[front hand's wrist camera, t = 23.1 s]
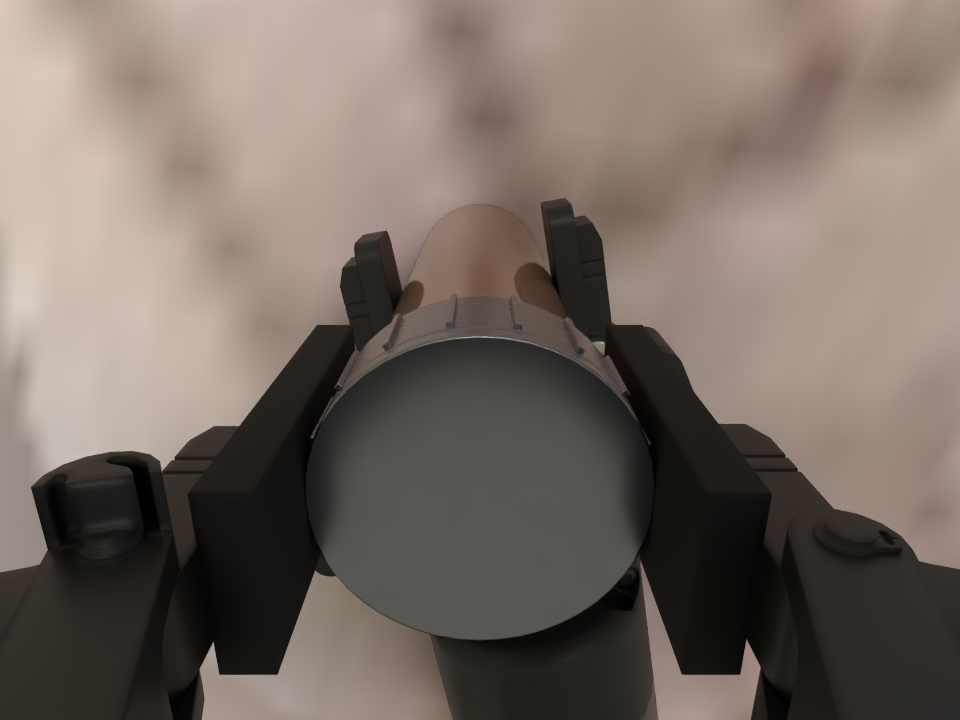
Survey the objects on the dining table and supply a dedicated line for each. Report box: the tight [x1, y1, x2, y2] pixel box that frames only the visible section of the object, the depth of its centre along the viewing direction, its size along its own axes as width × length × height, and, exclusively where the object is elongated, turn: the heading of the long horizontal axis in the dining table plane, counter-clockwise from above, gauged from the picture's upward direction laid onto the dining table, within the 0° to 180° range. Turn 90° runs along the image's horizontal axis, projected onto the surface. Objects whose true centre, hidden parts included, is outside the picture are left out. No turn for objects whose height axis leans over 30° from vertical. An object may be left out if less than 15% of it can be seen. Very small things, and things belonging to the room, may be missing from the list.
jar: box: [389, 204, 568, 324], centre depth 18 cm, size 5×5×16 cm
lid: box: [304, 294, 656, 640], centre depth 11 cm, size 5×5×2 cm
